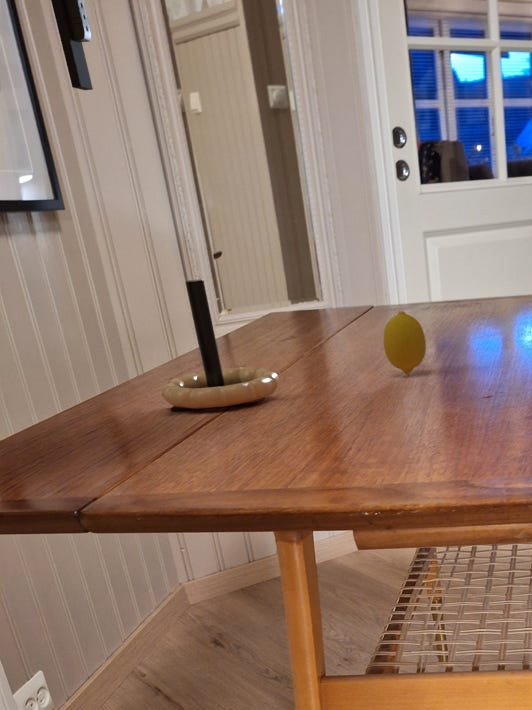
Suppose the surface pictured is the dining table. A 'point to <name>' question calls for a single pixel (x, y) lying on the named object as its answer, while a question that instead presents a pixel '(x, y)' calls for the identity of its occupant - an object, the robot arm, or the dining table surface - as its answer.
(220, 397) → the lying ring
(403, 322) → the lemon
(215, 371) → the black peg stand
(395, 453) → the dining table surface
